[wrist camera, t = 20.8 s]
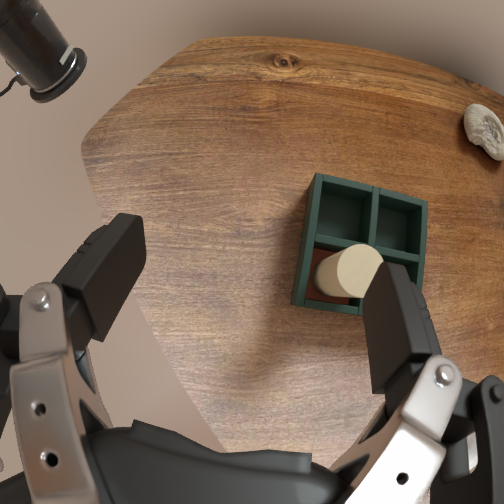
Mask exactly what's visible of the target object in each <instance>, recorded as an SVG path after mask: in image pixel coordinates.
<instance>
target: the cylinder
mask: <svg viewBox="0 0 504 504" xmlns="http://www.w3.org/2000/svg"><path fill="white" fill-rule="evenodd" d="M382 262H383V259H382V257H381V255H380V254H379V253H378V252H377V251H376V250H375V249H374V248H372V247H371V246H368V245H364V244H357V245H353V246H351V247H349V248H346V249H344V250H342V251H340V252H338V253H336V254H334V255H332V256H330V257H328V258H326V259H323V260H321V261H320V262H318V263H317V264H316V265H315V267H314V269H313V271H312V276H311V279H312V284H313V286H314V288H315V289H316V290H317V291H318V292H319V293H320V294H322V295H325V296H336V297H355V298H364V295H365V293H366V291H367V289H368V287H369V285H370V283H371V281H372V279H373V277H374V275H375V273H376V271H377V269H378V267H379V265H380V264H381V263H382Z"/></svg>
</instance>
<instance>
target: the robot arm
mask: <svg viewBox="0 0 504 504" xmlns="http://www.w3.org/2000/svg"><path fill="white" fill-rule="evenodd" d="M0 54H1V55H2V56H3V57H4V59H5V60H6V63H7V64H8V65H9V66H10V68H12V70H13V71H14V72H15V73H16V74H17V76H15V77H14V78H13V79H12V80H11V81H10V83H9V85H8V87H7V88H6V89H5V90H3V91H2V92H0V97H1V96H2V95H4V94H5V93H6V92H8V91H9V90H10V89H11V87H12V85H13V83H14V82H15V81H17V82H18V83H19V84H20V85H22V86H23V85H28V86H29V87H30V88H31V89H34V90H35V91H36V92H37V93H38V94H45V93H48V92H50V91H52V90H54V89H56V88H57V87H58V86H60V85H61V84H62V83H63V82H64V81H65V80H66V79H67V78H68V77H69V76H70V75H71V74H72V72H73V71H74V69H75V67H76V65H77V63H78V56H77V54H76V53H75V51H74V50H73V47H72V45H71V44H70V45H69V44H68V42H67V41H66V39H65V38H64V36H63V35H62V33H61V32H60V31H59V29H58V28H57V26H56V25H55V23H54V22H53V20H52V19H51V18H50V16H49V15H48V13H47V12H46V10H45V9H44V7H43V6H42V4H41V3H40V1H39V0H0ZM145 262H146V245H145V236H144V226H143V219H142V217H141V216H138V215H132V214H126V213H119V214H117V215H116V217H115V218H114V219H113V220H112V221H111V222H110V223H109V224H108V225H103V226H102V227H100V228H99V229H97V230H96V231H94V232H92V233H91V234H90V236H89V237H88V238H87V239H86V240H85V241H84V244H83V245H81V246H80V247H79V248H78V249H77V252H75V253H74V254H73V255H72V257H71V258H70V259H69V260H68V262H67V263H66V264H65V265H64V267H63V268H62V269H61V270H60V272H59V273H58V274H57V275H56V277H55V278H54V279H53V281H52V282H43V283H39V284H36V285H34V286H32V287H31V288H30V289H28V290H27V291H26V292H25V294H24V295H6V293H5V291H4V289H3V287H2V286H1V284H0V438H1V435H2V432H3V429H4V427H5V424H6V421H7V418H8V416H9V413H10V411H11V408H12V410H13V418H14V424H15V431H16V436H17V442H18V447H19V452H20V457H21V461H22V465H23V469H24V471H23V472H21V473H19V474H17V475H15V476H12V477H11V478H8V479H6V480H4V481H2V482H0V504H420V502H421V500H422V499H423V497H424V495H425V493H426V492H427V490H428V488H429V486H430V504H504V383H503V382H502V381H501V380H500V379H499V378H498V377H496V376H493V375H490V376H487V377H486V378H484V379H483V380H482V381H481V382H480V383H479V384H478V383H475V382H472V381H469V380H467V379H464V378H462V375H461V372H460V370H459V368H458V367H457V365H456V364H455V363H454V362H453V361H452V360H451V359H449V358H448V357H446V356H443V355H442V352H441V349H440V345H439V342H438V339H437V335H436V332H435V329H434V326H433V322H432V319H430V317H431V316H430V313H429V310H428V309H427V305H426V302H425V299H424V296H423V294H422V292H421V291H420V290H419V288H418V287H417V286H416V284H415V283H414V282H411V281H410V278H409V276H408V273H407V270H406V268H405V266H404V265H400V264H395V263H390V262H385V261H383V262H382V263H381V264H380V265H379V267H378V269H377V271H376V273H375V275H374V277H373V279H372V281H371V283H370V285H369V287H368V289H367V291H366V293H365V295H364V298H363V303H362V314H363V320H364V327H365V334H366V341H367V348H368V356H369V365H370V374H371V384H372V394H385V402H383V403H382V405H381V406H380V407H379V409H378V410H377V412H376V413H375V415H374V416H373V418H372V419H371V421H370V422H369V423H368V425H367V426H366V428H365V429H364V430H363V432H362V433H361V434H360V436H359V437H358V438H357V440H356V441H355V442H354V444H353V445H352V446H351V447H350V448H349V449H348V450H347V451H346V452H345V453H344V454H343V455H341V456H340V457H339V458H338V459H337V460H336V461H335V462H334V463H333V465H332V466H331V467H330V468H329V469H327V468H325V467H324V466H321V465H319V464H317V463H314V462H311V460H312V453H301V452H288V451H278V450H269V449H268V450H259V451H248V452H234V453H219V452H216V451H213V450H211V449H209V448H207V447H205V446H202V445H201V444H198V443H197V442H195V441H193V440H191V439H189V438H186V437H185V436H183V435H181V434H179V433H177V432H175V431H171V430H167V429H164V428H160V427H157V426H154V425H151V424H147V423H144V422H141V421H138V420H135V419H134V420H133V423H132V426H131V427H116V428H113V425H112V423H111V420H110V417H109V415H108V413H107V411H106V409H105V407H104V405H103V402H102V400H101V397H100V394H99V390H98V387H97V383H96V379H95V375H94V371H93V367H92V362H91V358H90V353H89V349H88V347H87V345H88V343H89V341H90V340H91V338H92V339H94V340H97V341H100V342H103V341H104V339H105V337H106V335H107V334H108V331H109V330H110V328H111V326H112V324H113V322H114V320H115V318H116V317H117V315H118V313H119V311H120V309H121V307H122V305H123V304H124V302H125V300H126V298H127V297H128V295H129V293H130V291H131V289H132V288H133V286H134V284H135V282H136V281H137V279H138V277H139V276H140V274H141V272H142V270H143V268H144V266H145ZM474 432H475V436H476V445H477V457H478V462H477V466H476V468H475V470H474V471H473V472H472V473H471V474H470V472H469V456H468V444H467V436H469V435H471V434H472V433H474ZM3 468H4V466H3V461H2V459H1V458H0V472H1V471H2V470H3Z"/></svg>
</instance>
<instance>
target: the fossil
mask: <svg viewBox="0 0 504 504" xmlns="http://www.w3.org/2000/svg"><path fill="white" fill-rule="evenodd" d="M464 127H465V132H466V134H467V137H468V139H469V141H470V142H472V143H474V144H475V145H480V146H482V147H483V148H484V150H485V151H486V152H487V153H488V154H489V155H490V156H491V157H492V158H493V159H495V160H499V161H501V160H504V127H503V125H502V123H501V122H500V120H499V119H498V118H497V116H496V115H495V114H494V113H493V112H492V111H490V110H489V109H488V108H486V107H484V106H482V105H480V104H472V105H470V106H469V107H467V109H466V111H465V114H464Z"/></svg>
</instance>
